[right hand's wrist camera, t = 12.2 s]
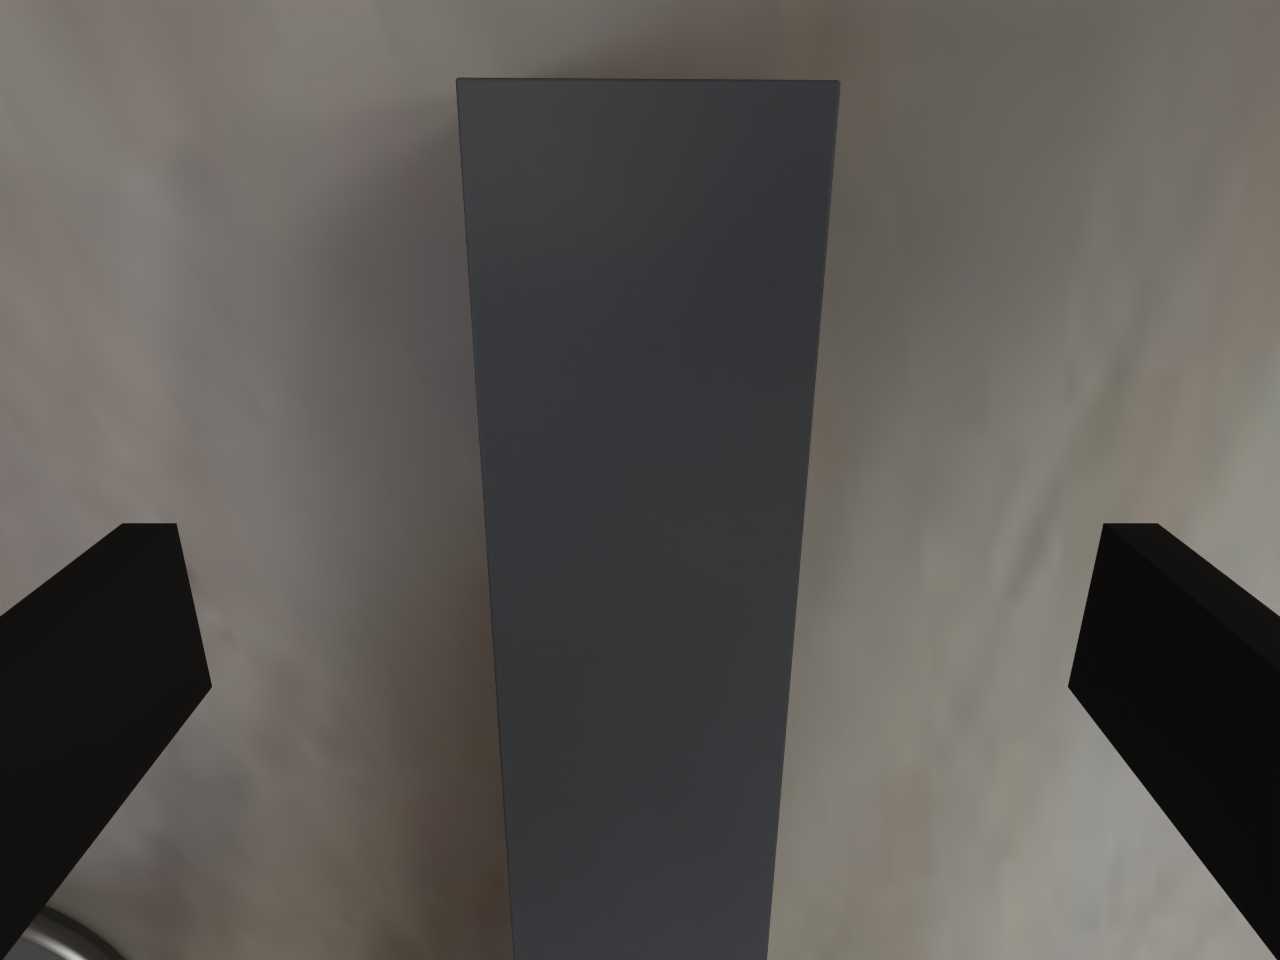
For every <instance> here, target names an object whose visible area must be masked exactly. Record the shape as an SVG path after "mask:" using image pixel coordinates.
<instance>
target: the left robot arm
mask: <svg viewBox="0 0 1280 960" xmlns="http://www.w3.org/2000/svg"><path fill="white" fill-rule="evenodd" d="M3 960H125V959H124V958H123V957H122V956H121V955H120V954H119V953H117V952H116V951H115V950H114V949H113V948H112V947H111V946H110V945H108V944H107V943H106V942H104V941H103V940H102V939H101V938H99V937H98V936H96V935H95V934H94V933H92V932H91V931H89V930H88V929H86V928H84V927H83V926H81V925H79V924H78V923H76V922H74V921H72V920H70V919H69V918H67V917H65V916H63V915H60V914H58V913H56V912H54V911H52V910H49V909H47V908H45V907H43V908H42V909H41V911H40V912H39V913H38V915H37V916H36V917H35V919H34V920H33V921H32V922H31V924H30V925H29V926H28V928H27V929H26V930H25V932H24V933H23V934H22V936H21V937H20V938H19V939H18V941H17V942H16V943H15V945H14V946H13V947H12V949H11V950H10V951H9V952H8V954H7V955H6V956H5V958H4V959H3Z"/></svg>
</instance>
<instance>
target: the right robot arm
mask: <svg viewBox="0 0 1280 960" xmlns="http://www.w3.org/2000/svg"><path fill="white" fill-rule="evenodd" d="M211 688H212V684H211V680H210V675H209V670H208V666H207V661H206V657H205V652H204V648H203V643H202V638H201V634H200V629H199V625H198V620H197V615H196V611H195V606H194V602H193V597H192V593H191V588H190V583H189V579H188V574H187V570H186V565H185V560H184V556H183V551H182V547H181V542H180V538H179V533H178V528H177V524H176V523H122V524H121V525H120V526H118V527H117V528H116V529H114V530H113V531H112V532H110V533H109V534H108V535H106V536H105V537H104V538H103V539H101V540H100V541H99V542H97V543H96V544H95V545H93V546H92V547H91V548H89V549H88V550H87V551H85V552H84V553H83V554H82V555H80V556H79V557H78V558H76V559H75V560H74V561H72V562H71V563H70V564H68V565H67V566H66V567H65V568H63V569H62V570H61V571H59V572H58V573H57V574H55V575H54V576H53V577H51V578H50V579H49V580H47V581H46V582H45V583H44V584H42V585H41V586H40V587H38V588H37V589H36V590H34V591H33V592H32V593H30V594H29V595H28V596H27V597H25V598H24V599H23V600H21V601H20V602H19V603H17V604H16V605H15V606H13V607H12V608H11V609H9V610H8V611H7V612H6V613H4V614H3V615H2V616H0V960H3V959H4V958H5V956H6V955H7V954H8V952H9V951H10V950H11V949H12V947H13V946H14V945H15V943H16V942H17V941H18V939H19V938H20V937H21V936H22V934H23V933H24V932H25V930H26V929H27V928H28V926H29V925H30V924H31V922H32V921H33V920H34V919H35V917H36V916H37V915H38V913H39V912H40V911H41V909H42V908H43V907H44V906H45V904H46V903H47V902H48V900H49V899H50V898H51V896H52V895H53V894H54V892H55V891H56V890H57V889H58V887H59V886H60V885H61V883H62V882H63V881H64V879H65V878H66V877H67V875H68V874H69V873H70V872H71V870H72V869H73V868H74V866H75V865H76V864H77V862H78V861H79V860H80V859H81V857H82V856H83V855H84V853H85V852H86V851H87V849H88V848H89V847H90V845H91V844H92V843H93V842H94V840H95V839H96V838H97V836H98V835H99V834H100V832H101V831H102V830H103V829H104V827H105V826H106V825H107V823H108V822H109V821H110V819H111V818H112V817H113V815H114V814H115V813H116V812H117V810H118V809H119V808H120V806H121V805H122V804H123V802H124V801H125V800H126V798H127V797H128V796H129V795H130V793H131V792H132V791H133V789H134V788H135V787H136V785H137V784H138V783H139V782H140V780H141V779H142V778H143V776H144V775H145V774H146V772H147V771H148V770H149V768H150V767H151V766H152V765H153V763H154V762H155V761H156V759H157V758H158V757H159V755H160V754H161V753H162V752H163V750H164V749H165V748H166V746H167V745H168V744H169V742H170V741H171V740H172V738H173V737H174V736H175V735H176V733H177V732H178V731H179V729H180V728H181V727H182V725H183V724H184V723H185V721H186V720H187V719H188V718H189V716H190V715H191V714H192V712H193V711H194V710H195V708H196V707H197V706H198V705H199V703H200V702H201V701H202V699H203V698H204V697H205V695H206V694H207V693H208V691H209V690H210V689H211ZM1068 688H1069V689H1070V690H1071V691H1072V693H1073V694H1074V695H1075V697H1076V698H1077V699H1078V701H1079V702H1080V703H1081V705H1082V706H1083V707H1084V708H1085V710H1086V711H1087V712H1088V714H1089V715H1090V716H1091V718H1092V719H1093V720H1094V721H1095V723H1096V724H1097V725H1098V727H1099V728H1100V729H1101V731H1102V732H1103V733H1104V735H1105V736H1106V737H1107V738H1108V740H1109V741H1110V742H1111V744H1112V745H1113V746H1114V748H1115V749H1116V750H1117V752H1118V753H1119V754H1120V755H1121V757H1122V758H1123V759H1124V761H1125V762H1126V763H1127V765H1128V766H1129V767H1130V768H1131V770H1132V771H1133V772H1134V774H1135V775H1136V776H1137V778H1138V779H1139V780H1140V782H1141V783H1142V784H1143V785H1144V787H1145V788H1146V789H1147V791H1148V792H1149V793H1150V795H1151V796H1152V797H1153V798H1154V800H1155V801H1156V802H1157V804H1158V805H1159V806H1160V808H1161V809H1162V810H1163V812H1164V813H1165V814H1166V815H1167V817H1168V818H1169V819H1170V821H1171V822H1172V823H1173V825H1174V826H1175V827H1176V829H1177V830H1178V831H1179V832H1180V834H1181V835H1182V836H1183V838H1184V839H1185V840H1186V842H1187V843H1188V844H1189V845H1190V847H1191V848H1192V849H1193V851H1194V852H1195V853H1196V855H1197V856H1198V857H1199V859H1200V860H1201V861H1202V862H1203V864H1204V865H1205V866H1206V868H1207V869H1208V870H1209V872H1210V873H1211V874H1212V875H1213V877H1214V878H1215V879H1216V881H1217V882H1218V883H1219V885H1220V886H1221V887H1222V889H1223V890H1224V891H1225V892H1226V894H1227V895H1228V896H1229V898H1230V899H1231V900H1232V902H1233V903H1234V904H1235V906H1236V907H1237V908H1238V909H1239V911H1240V912H1241V913H1242V915H1243V916H1244V917H1245V919H1246V920H1247V921H1248V922H1249V924H1250V925H1251V926H1252V928H1253V929H1254V930H1255V932H1256V933H1257V934H1258V936H1259V937H1260V938H1261V939H1262V941H1263V942H1264V943H1265V945H1266V946H1267V947H1268V949H1269V950H1270V951H1271V952H1272V954H1273V955H1274V956H1275V958H1276V959H1277V960H1280V616H1278V615H1277V614H1276V613H1274V612H1273V611H1272V610H1271V609H1269V608H1268V607H1267V606H1265V605H1264V604H1263V603H1261V602H1260V601H1259V600H1257V599H1256V598H1255V597H1253V596H1252V595H1251V594H1250V593H1248V592H1247V591H1246V590H1244V589H1243V588H1242V587H1240V586H1239V585H1238V584H1236V583H1235V582H1234V581H1233V580H1231V579H1230V578H1229V577H1227V576H1226V575H1225V574H1223V573H1222V572H1221V571H1219V570H1218V569H1217V568H1215V567H1214V566H1213V565H1212V564H1210V563H1209V562H1208V561H1206V560H1205V559H1204V558H1202V557H1201V556H1200V555H1198V554H1197V553H1196V552H1195V551H1193V550H1192V549H1191V548H1189V547H1188V546H1187V545H1185V544H1184V543H1183V542H1181V541H1180V540H1179V539H1177V538H1176V537H1175V536H1174V535H1172V534H1171V533H1170V532H1168V531H1167V530H1166V529H1164V528H1163V527H1162V526H1160V525H1159V524H1158V523H1104V524H1103V528H1102V533H1101V538H1100V542H1099V547H1098V551H1097V556H1096V560H1095V565H1094V570H1093V574H1092V579H1091V583H1090V588H1089V593H1088V597H1087V602H1086V606H1085V611H1084V615H1083V620H1082V625H1081V629H1080V634H1079V638H1078V643H1077V648H1076V652H1075V657H1074V661H1073V666H1072V670H1071V675H1070V680H1069V684H1068Z"/></svg>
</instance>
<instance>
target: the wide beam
mask: <svg viewBox="0 0 1280 960" xmlns="http://www.w3.org/2000/svg"><path fill="white" fill-rule="evenodd" d="M456 91H457V106H458V121H459V136H460V151H461V166H462V182H463V197H464V212H465V227H466V242H467V257H468V272H469V287H470V302H471V317H472V333H473V348H474V363H475V378H476V393H477V408H478V423H479V438H480V453H481V469H482V484H483V499H484V514H485V529H486V544H487V559H488V574H489V589H490V604H491V620H492V635H493V650H494V665H495V680H496V695H497V710H498V725H499V740H500V755H501V771H502V786H503V801H504V816H505V831H506V846H507V861H508V876H509V891H510V907H511V922H512V937H513V952H514V960H767V952H768V940H769V928H770V916H771V904H772V892H773V880H774V868H775V856H776V844H777V832H778V820H779V809H780V797H781V785H782V773H783V761H784V749H785V737H786V725H787V713H788V701H789V689H790V677H791V665H792V654H793V642H794V630H795V618H796V606H797V594H798V582H799V570H800V558H801V546H802V534H803V522H804V510H805V499H806V487H807V475H808V463H809V451H810V439H811V427H812V415H813V403H814V391H815V379H816V367H817V356H818V344H819V332H820V320H821V308H822V296H823V284H824V272H825V260H826V248H827V236H828V224H829V212H830V201H831V189H832V177H833V165H834V153H835V141H836V129H837V117H838V105H839V93H840V81H838V80H725V79H580V78H457V79H456Z"/></svg>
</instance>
